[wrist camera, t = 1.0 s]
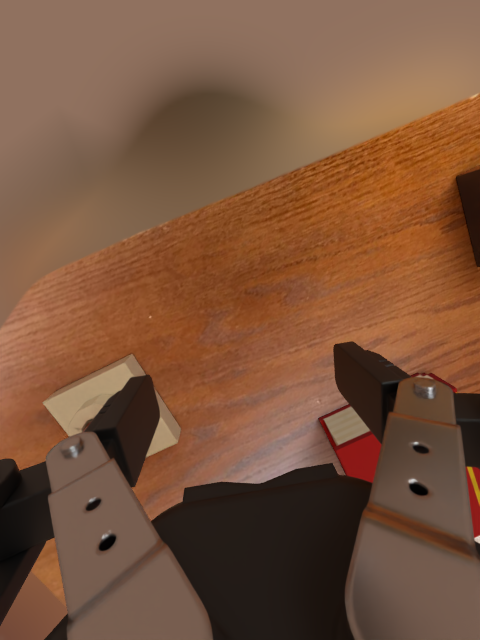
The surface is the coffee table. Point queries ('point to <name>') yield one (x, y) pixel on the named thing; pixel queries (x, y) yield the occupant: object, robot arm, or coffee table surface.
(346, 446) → the book
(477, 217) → the panel
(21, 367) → the coffee table surface
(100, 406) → the block
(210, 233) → the coffee table surface
